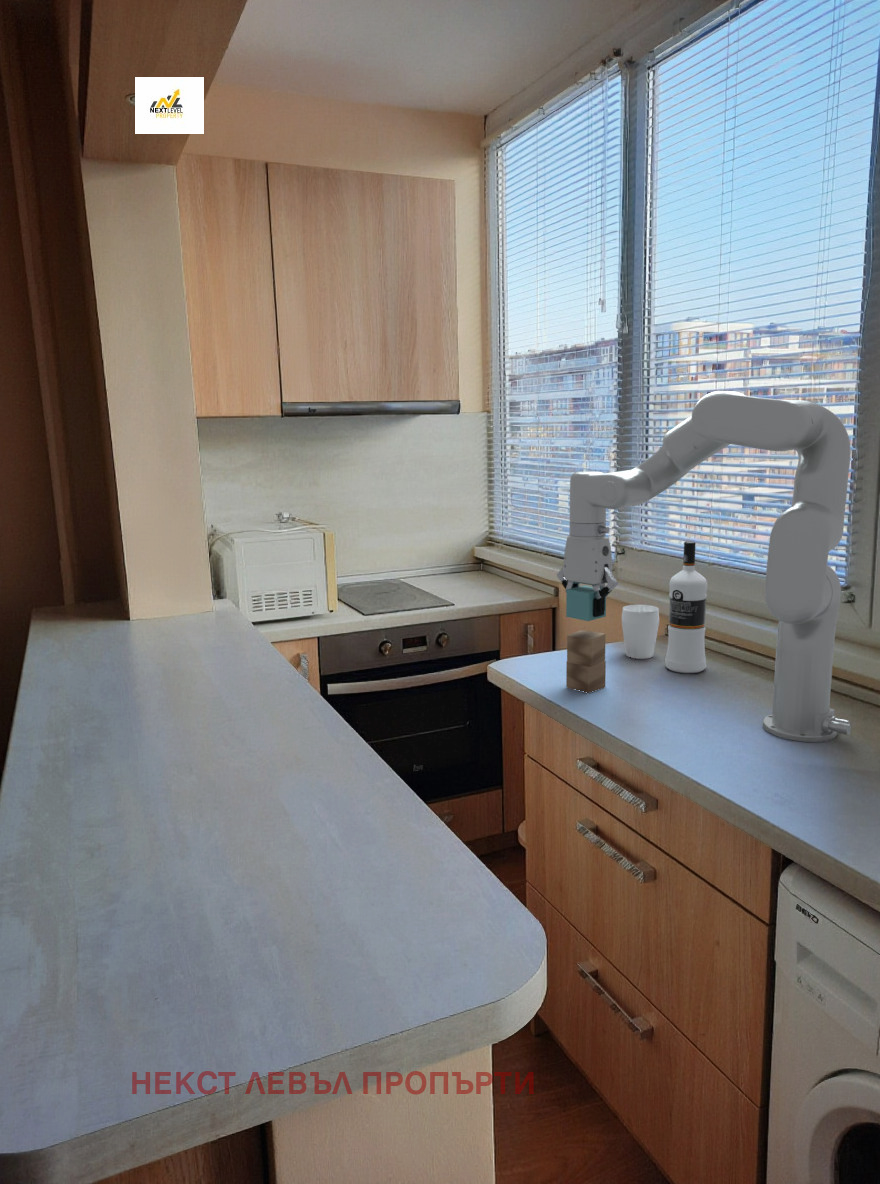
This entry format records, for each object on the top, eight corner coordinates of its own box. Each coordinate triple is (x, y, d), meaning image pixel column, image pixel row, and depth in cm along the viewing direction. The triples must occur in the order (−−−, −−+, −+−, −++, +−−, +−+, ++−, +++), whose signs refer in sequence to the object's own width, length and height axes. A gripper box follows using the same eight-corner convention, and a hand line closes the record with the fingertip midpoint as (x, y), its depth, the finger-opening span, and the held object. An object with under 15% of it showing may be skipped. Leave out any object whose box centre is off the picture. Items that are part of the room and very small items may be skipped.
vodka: (714, 670, 188) (720, 541, 182) (685, 676, 184) (689, 545, 178) (685, 660, 196) (689, 537, 190) (656, 666, 192) (659, 540, 186)
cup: (662, 660, 197) (663, 612, 195) (624, 660, 197) (625, 612, 195) (653, 650, 206) (654, 604, 204) (617, 650, 206) (618, 604, 204)
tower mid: (605, 660, 178) (605, 633, 176) (591, 666, 173) (591, 639, 172) (581, 655, 181) (581, 629, 180) (567, 662, 177) (567, 635, 176)
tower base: (605, 687, 178) (605, 661, 177) (588, 693, 174) (588, 666, 173) (583, 681, 183) (583, 655, 181) (566, 687, 179) (566, 661, 178)
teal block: (605, 616, 175) (606, 589, 174) (588, 621, 171) (588, 593, 170) (583, 612, 180) (584, 585, 178) (566, 616, 176) (566, 589, 174)
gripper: (632, 532, 168) (629, 616, 171) (566, 525, 180) (565, 604, 184) (610, 535, 163) (608, 623, 167) (544, 528, 175) (543, 610, 179)
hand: (585, 612), depth 175 cm, fingers closed on teal block, 6 cm apart
